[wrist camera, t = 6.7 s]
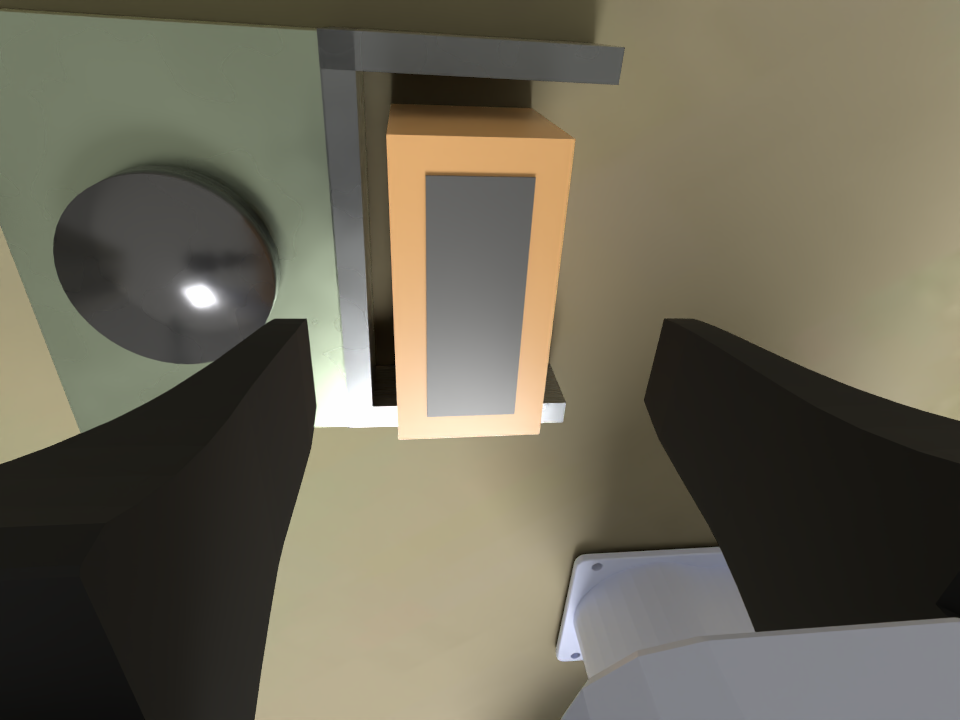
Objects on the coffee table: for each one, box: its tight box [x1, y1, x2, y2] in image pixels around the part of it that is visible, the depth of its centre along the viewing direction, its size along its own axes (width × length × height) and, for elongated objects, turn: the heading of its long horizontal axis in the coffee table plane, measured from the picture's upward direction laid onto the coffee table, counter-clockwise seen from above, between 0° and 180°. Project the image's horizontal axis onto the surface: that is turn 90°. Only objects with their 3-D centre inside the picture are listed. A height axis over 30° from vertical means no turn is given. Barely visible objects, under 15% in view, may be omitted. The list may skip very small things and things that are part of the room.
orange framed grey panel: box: [386, 104, 575, 440], centre depth 16 cm, size 4×8×5 cm, turn 177°
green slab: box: [0, 8, 625, 433], centre depth 16 cm, size 15×11×4 cm
